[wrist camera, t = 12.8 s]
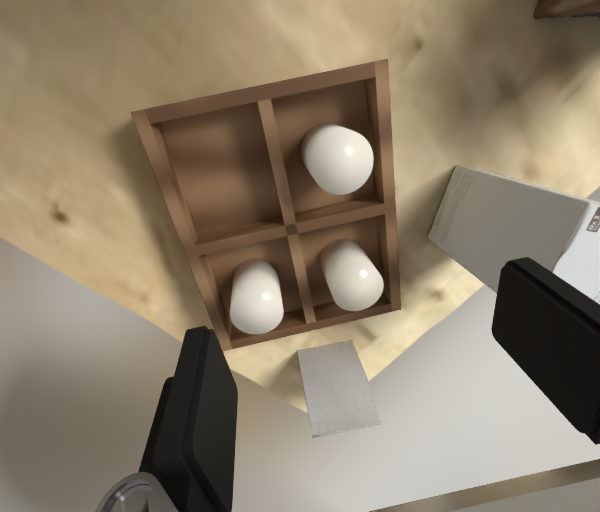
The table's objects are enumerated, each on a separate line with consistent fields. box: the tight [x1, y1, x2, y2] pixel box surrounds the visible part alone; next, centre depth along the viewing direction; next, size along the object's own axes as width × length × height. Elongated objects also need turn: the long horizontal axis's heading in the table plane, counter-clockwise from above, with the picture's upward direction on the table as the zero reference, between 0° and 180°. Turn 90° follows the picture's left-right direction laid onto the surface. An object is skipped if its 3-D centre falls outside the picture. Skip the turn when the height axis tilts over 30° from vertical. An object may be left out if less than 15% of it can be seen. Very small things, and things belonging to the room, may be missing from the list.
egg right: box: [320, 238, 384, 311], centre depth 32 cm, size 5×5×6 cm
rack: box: [131, 59, 401, 351], centre depth 31 cm, size 23×19×4 cm
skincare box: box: [427, 165, 600, 304], centre depth 28 cm, size 8×6×15 cm
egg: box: [230, 258, 283, 334], centre depth 31 cm, size 5×5×6 cm
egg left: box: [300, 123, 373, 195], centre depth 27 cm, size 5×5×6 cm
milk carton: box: [297, 340, 380, 438], centre depth 37 cm, size 4×7×10 cm, turn 97°
